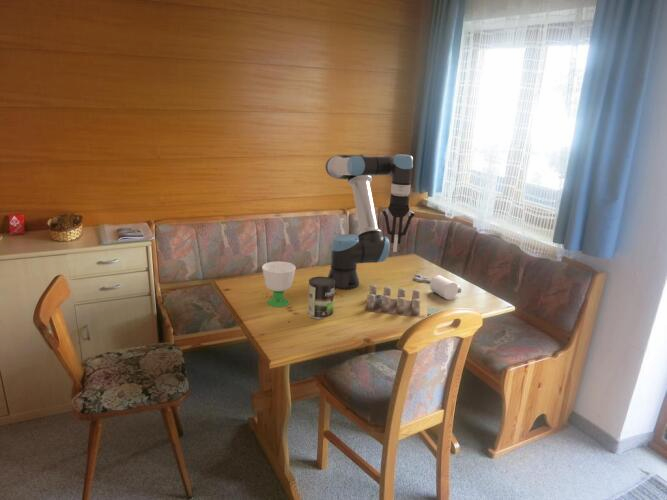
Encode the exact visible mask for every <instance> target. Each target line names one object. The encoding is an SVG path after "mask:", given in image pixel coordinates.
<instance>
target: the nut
mask: <svg viewBox="0 0 667 500" xmlns="http://www.w3.org/2000/svg"><path fill="white" fill-rule="evenodd" d="M382 296H383V294H382V295H381V294H376V295H375V302H374V306H376V307H382Z"/></svg>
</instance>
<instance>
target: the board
mask: <svg viewBox="0 0 667 500" xmlns="http://www.w3.org/2000/svg"><path fill="white" fill-rule="evenodd" d="M377 288H378V286H377V285H376V284H370V285H369V292H368V294H367V299H366V305H365V308H364V312H367V313H376V314H385V315H395V316H403V317H411V318H421V310H420V309H421V307H420V306H421V300H420V294H421V291H420V290H419V289H416V288H415V289H412V296H411V300H407V299H406V288H403V287H398V289H397V298H391V296H392V295H391V293H392V287H390V286H388V285H386V286H384V287H383V294H382V307H376V306H374V302H375V295H377V292H378V289H377Z"/></svg>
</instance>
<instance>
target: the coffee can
mask: <svg viewBox="0 0 667 500" xmlns="http://www.w3.org/2000/svg"><path fill="white" fill-rule="evenodd" d="M335 291H336V290H335V280H334V279H332V278H329V277H328V276H313V277H310V278H309V280H308V299H307V300H308V301H307V303H308V306H307V315H308V316H309V317H310V318H312V319H316V320H324V318H328V317H330V316H332V315H334V311H335V310H334V308H335V305H334V304H335Z"/></svg>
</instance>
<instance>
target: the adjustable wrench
mask: <svg viewBox="0 0 667 500" xmlns="http://www.w3.org/2000/svg"><path fill="white" fill-rule="evenodd" d="M413 280H414V281H416V282H419V283H428V284H430V282H431V280H432V278H428V277H427V276H425V275H422V274H419V273H418V274H414V276H413ZM457 293H462V288H460V289H459V290H458V291H457Z"/></svg>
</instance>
